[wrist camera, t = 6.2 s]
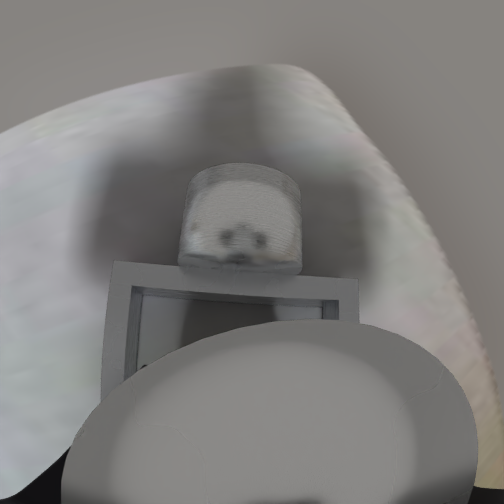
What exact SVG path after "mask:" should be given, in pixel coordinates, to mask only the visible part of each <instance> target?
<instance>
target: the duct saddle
mask: <svg viewBox="0 0 504 504" xmlns="http://www.w3.org/2000/svg"><path fill="white" fill-rule="evenodd" d="M177 262H178V265H179V266H170V265H159V264H148V263H137V262H126V261H116V260H114V261H113V267H112V274H111V280H110V287H109V294H108V302H107V311H106V320H105V330H104V341H103V355H102V374H101V402H102V401H103V400H104V399H105V398H106V397H107V396H108V395H109V394H110V393H111V391H112V390H114V389H115V388H116V387H118V386H119V385H120V384H122V383H123V382H124V381H126V380H127V379H128V378H129V377H131V376H132V375H133V374H135V373H136V365H137V349H138V336H139V324H140V314H141V304H142V295H151V296H161V297H171V298H182V299H193V300H205V301H218V302H232V303H247V304H264V305H283V306H306V307H323V320H343V321H348V322H354V323H359V288H358V279H350V278H333V277H317V276H301V275H298V274H299V273H300V272H301V271H302V217H301V192H300V188H299V186H298V185H297V183H296V182H295V181H294V180H293V179H292V178H291V177H289V176H288V175H286V174H285V173H283V172H281V171H279V170H276V169H274V168H271V167H268V166H263V165H259V164H252V163H227V164H221V165H216V166H213V167H209V168H207V169H205V170H202V171H201V172H199V173H197V174H196V175H195V176H194V177H193V178H192V179H191V180H190V182H189V184H188V188H187V195H186V201H185V208H184V214H183V221H182V229H181V236H180V244H179V252H178V260H177Z"/></svg>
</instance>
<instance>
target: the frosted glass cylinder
mask: <svg viewBox="0 0 504 504" xmlns="http://www.w3.org/2000/svg"><path fill="white" fill-rule="evenodd" d="M477 463H478V439H477V430H476V424H475V420H474V417H473V413H472V409H471V406H470V404H469V402H468V400H467V398H466V395H465V393H464V391H463V389H462V388H461V386H460V385H459V383H458V382H457V380H456V379H455V377H454V376H453V375H452V373H451V372H450V371H449V370H448V369H447V368H446V367H445V366H444V365H443V364H442V363H441V362H440V361H439V360H438V359H437V358H436V357H435V356H433V355H432V354H431V353H429V352H428V351H426V350H425V349H424V348H422V347H421V346H420V345H418V344H416V343H414V342H412V341H410V340H408V339H406V338H404V337H402V336H400V335H398V334H395V333H392V332H389V331H386V330H383V329H380V328H377V327H374V326H371V325H365V324H359V323H354V322H348V321H343V320H322V319H302V320H288V321H274V322H269V323H264V324H258V325H253V326H247V327H241V328H237V329H234V330H230V331H227V332H224V333H220V334H217V335H214V336H210V337H207V338H203V339H201V340H199V341H196V342H194V343H192V344H189V345H187V346H185V347H182V348H180V349H177V350H175V351H173V352H170V353H168V354H167V355H165V356H163V357H161V358H160V359H158V360H156V361H154V362H153V363H151V364H149V365H147V366H146V367H144V368H142V369H140V370H139V371H137V372H136V373H135V374H133V375H132V376H131V377H129V378H128V379H127V380H126V381H124V382H123V383H122V384H120V385H119V386H118V387H116V388H115V389H114V390H112V391H111V393H110V394H109V395H108V396H107V397H106V398H105V399H104V400H103V401H102V402H101V403H100V404H99V405H98V406H97V407H96V408H95V409H94V410H93V411H92V412H91V414H90V415H89V417H88V418H87V420H86V421H85V423H84V424H83V425H82V427H81V428H80V430H79V431H78V433H77V434H76V436H75V439H74V441H73V443H72V445H71V448H70V450H69V452H68V455H67V457H66V461H65V466H64V470H63V475H62V480H61V504H468V502H469V499H470V495H471V492H472V489H473V485H474V481H475V476H476V470H477Z"/></svg>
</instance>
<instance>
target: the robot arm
mask: <svg viewBox="0 0 504 504" xmlns="http://www.w3.org/2000/svg"><path fill="white" fill-rule="evenodd" d="M146 366H147V365H143V366H142V367H141V368H140V369H142V368H144V367H146ZM70 448H71V446H70V447H69V448H68V450H67V451H66V452H65V453H64V454H63V455H62V456H61V457H60V458H59V459H58V460H57V461H56V462H55V463H53V464H52V465H51V466H50V467H49V468H48V469H47V470H46V471H44V472H43V473H42V474H41V475H40V476H38V477H37V478H36V479H35V480H34V481H32V482H31V483H30V484H29V485H28V486H26V487H25V488H24V489H23V490H21V491H20V492H18V493H17V494H15V495H13V496H11V497H8V498H5V499H1V500H0V504H61V480H62V475H63V470H64V466H65V461H66V457H67V455H68V452H69V450H70ZM468 504H504V489H490V488H480V487H476V486H473V489H472V492H471V495H470V499H469V502H468Z"/></svg>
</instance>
